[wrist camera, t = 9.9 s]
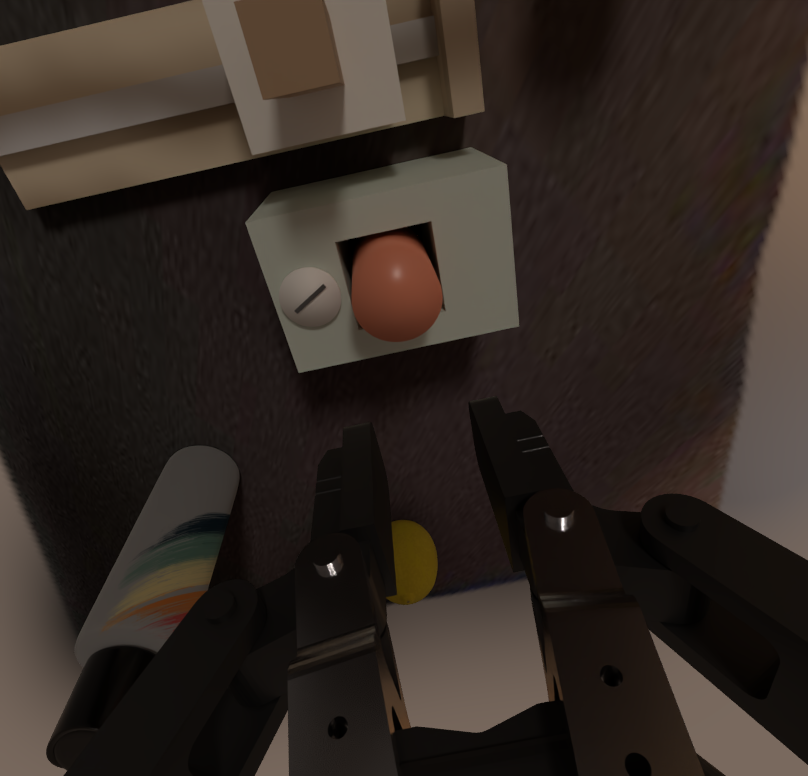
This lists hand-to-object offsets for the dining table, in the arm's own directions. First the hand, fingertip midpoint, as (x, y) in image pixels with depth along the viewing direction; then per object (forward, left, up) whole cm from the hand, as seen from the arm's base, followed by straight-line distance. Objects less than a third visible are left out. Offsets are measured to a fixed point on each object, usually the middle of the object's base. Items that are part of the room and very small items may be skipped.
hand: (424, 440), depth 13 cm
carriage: (-10, -2, -18) cm, 21 cm away
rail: (-10, -7, -21) cm, 24 cm away
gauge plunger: (0, 0, -16) cm, 16 cm away
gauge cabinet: (0, 0, -21) cm, 21 cm away
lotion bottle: (+15, -18, -21) cm, 32 cm away
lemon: (+25, -4, -21) cm, 33 cm away
